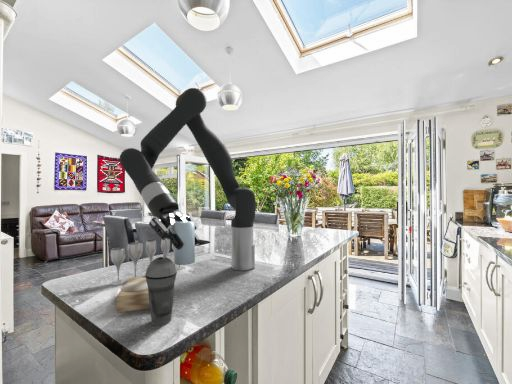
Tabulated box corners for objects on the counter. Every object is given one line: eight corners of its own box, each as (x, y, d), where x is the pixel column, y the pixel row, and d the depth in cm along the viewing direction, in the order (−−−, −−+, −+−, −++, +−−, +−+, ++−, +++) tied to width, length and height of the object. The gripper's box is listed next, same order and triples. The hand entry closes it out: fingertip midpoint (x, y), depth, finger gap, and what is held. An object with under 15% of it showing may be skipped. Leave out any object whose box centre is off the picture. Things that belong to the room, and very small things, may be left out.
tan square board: (168, 288, 83) (168, 274, 83) (164, 306, 70) (164, 290, 70) (129, 292, 80) (129, 277, 80) (116, 312, 67) (116, 295, 67)
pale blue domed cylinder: (194, 259, 73) (194, 220, 73) (194, 264, 67) (194, 223, 67) (175, 260, 71) (174, 221, 71) (173, 265, 66) (173, 223, 66)
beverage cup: (151, 314, 65) (151, 237, 65) (180, 313, 66) (179, 236, 66) (140, 329, 58) (140, 242, 58) (172, 328, 58) (172, 242, 59)
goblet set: (112, 286, 85) (112, 247, 85) (108, 282, 90) (108, 244, 90) (189, 269, 104) (188, 237, 104) (182, 266, 108) (182, 235, 108)
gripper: (143, 191, 67) (175, 241, 61) (184, 191, 79) (214, 232, 73) (131, 211, 70) (161, 260, 64) (172, 208, 82) (200, 249, 76)
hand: (189, 245), depth 68 cm, fingers closed on pale blue domed cylinder, 5 cm apart
